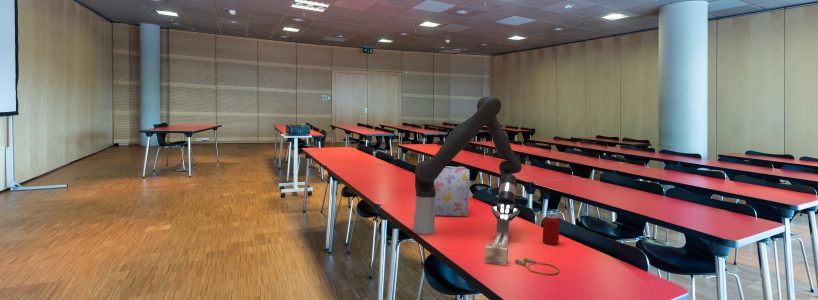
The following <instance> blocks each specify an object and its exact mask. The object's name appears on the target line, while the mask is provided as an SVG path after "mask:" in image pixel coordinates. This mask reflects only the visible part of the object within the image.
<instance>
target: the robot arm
mask: <svg viewBox="0 0 818 300" xmlns="http://www.w3.org/2000/svg"><path fill="white" fill-rule="evenodd" d="M476 109H477V110H476V111H475V113H474V114H473V115H471V117H469V118H467V119H466V120H464V121H463V122H461V123H460V124H459V125H457V126H455V128H454V129H453V130H452V131H451V132H450V133H449V134H448V135H447V136H446V137H445V139H444V141H443V143H442V144H441V146H440V148H439V150H438V151H437V152H436V153H435V154H434V155H433V156H432V157H431V158H430V159H429V160H422V161H420V162H418V163H417V165H416V167H415V173H414V187H415V189H414V190H415V206H414V207H415V211H414V212H413V228H412V229H413V231H412V232H413V233H415V234H417V235H422V236H423V235H425V236H426V235H427V236H428V235H433V234H435V225H436V223H435V221H436V215H435V201H436V190H435V186H434V180H435V179H436V178H437V177H438V176H439V174H440V173H441V172H442V171H443V169H444V168H445V167H446V166H448V164H450V162H451V161H452V160H453V159H454V158H455V157H457V156H458V154H460V152H461V151H462V150H463V149H465V147H467V146H468V145H469V143H470V142H471V141H472V140H473V138H475V137H476V135H477V134H478V133H479V132H480V131H481V129H482V128H483V127H485V126H486V128H487V130H488V132H489V135H490V138H491V141H492V143H493V145H494V147H495V148H494V149H495V151H496V154H497V156H498V157H500V158H501V159H502V158H503V159H504V158H505V159H506V160H502V161H501V162H500V163H499V165H498V169H499V174H500V185H499V188H498V196H497V203H496V204H495V206H491V207H490V211H491V213H492V214H493V216H494V217H495V218H496V220H497V219H498V218H501V219H509V222H512V221H513V220H514V219H515V218H516V217H517V216H519V215H520V210H519V209H518V208H516V206H515V203H516V202H515V201H516V192H517V191H516V188H517V186H516V185H517V177H516V175H515V174H518V173H521V171H522V163H521V161H520V159H519V158H518V157H517V155H516V153H515V152H514V150H513V149H512V147H511V144H510V140H509V138H508V136H507V134H506V133H505V131H504V130H503V129H504V128H503V127H502V126H501V124H500V123H499V121H498V118H497V115H498V114H499V113H500V112H501V110H502V102H501V100H500V99H499V98H498V97H495V96H483V97H481V98H479V100H478V101H477V103H476Z"/></svg>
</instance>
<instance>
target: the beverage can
mask: <svg viewBox="0 0 818 300" xmlns="http://www.w3.org/2000/svg"><path fill="white" fill-rule="evenodd" d="M542 223H543V226H542V242H543V243H544V244H546V245H550V246H556V245H557V244H559V240H560V239H559V238H560V237H559V236H560V226H561V225H560V223H561V222H560V219H559V216H557V215H553V214H551V215H550V214H546V215H545V216H544V218H543V222H542Z"/></svg>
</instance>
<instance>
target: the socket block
mask: <svg viewBox="0 0 818 300" xmlns="http://www.w3.org/2000/svg"><path fill="white" fill-rule="evenodd" d="M484 249H485V250H484V264H485V263H486V264H492V265H498V266H499V265H500V266H507V264H508V260H509V257H508V256H509V245H502V244H494V242H493V243H492V242H487V243H486V244H485V247H484Z"/></svg>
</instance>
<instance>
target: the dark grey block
mask: <svg viewBox="0 0 818 300" xmlns="http://www.w3.org/2000/svg"><path fill="white" fill-rule="evenodd" d="M509 231H510V221H509V219H501V218H498V219H497V218H496V234H498V233H500V234H501V236H500V239H499V242H498V244H502V241H503V238H504V235H505V234H508V235H509V233H510V232H509Z"/></svg>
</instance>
